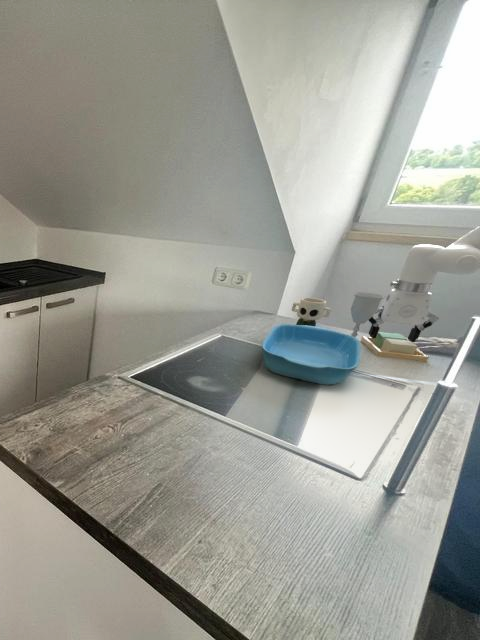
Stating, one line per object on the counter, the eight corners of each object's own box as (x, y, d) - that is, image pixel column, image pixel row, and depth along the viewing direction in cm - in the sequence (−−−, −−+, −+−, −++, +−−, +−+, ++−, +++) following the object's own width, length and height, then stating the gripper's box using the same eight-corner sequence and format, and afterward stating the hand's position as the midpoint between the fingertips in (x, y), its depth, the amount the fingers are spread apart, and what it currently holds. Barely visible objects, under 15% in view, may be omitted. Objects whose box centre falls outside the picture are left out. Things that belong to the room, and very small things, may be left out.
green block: (395, 345, 128) (400, 334, 126) (402, 350, 124) (407, 339, 122) (372, 342, 130) (377, 331, 129) (378, 348, 126) (383, 336, 125)
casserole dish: (350, 398, 99) (360, 373, 96) (249, 374, 112) (256, 352, 109) (354, 354, 124) (362, 333, 121) (271, 338, 137) (277, 319, 134)
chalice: (357, 345, 130) (378, 293, 123) (367, 353, 124) (389, 298, 117) (331, 343, 132) (349, 291, 125) (340, 350, 126) (359, 297, 119)
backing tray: (404, 346, 129) (407, 340, 128) (426, 363, 116) (429, 357, 116) (360, 341, 133) (362, 336, 132) (376, 357, 121) (379, 351, 120)
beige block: (404, 352, 123) (410, 340, 121) (412, 358, 119) (417, 346, 117) (380, 349, 125) (385, 338, 123) (386, 355, 121) (391, 343, 119)
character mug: (282, 333, 142) (292, 299, 136) (287, 329, 146) (297, 295, 141) (318, 341, 134) (330, 305, 129) (323, 336, 138) (335, 301, 133)
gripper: (381, 287, 119) (361, 339, 126) (458, 292, 113) (432, 346, 119) (372, 282, 126) (353, 332, 132) (444, 286, 119) (421, 338, 126)
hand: (391, 338), depth 126 cm, fingers open, 9 cm apart
